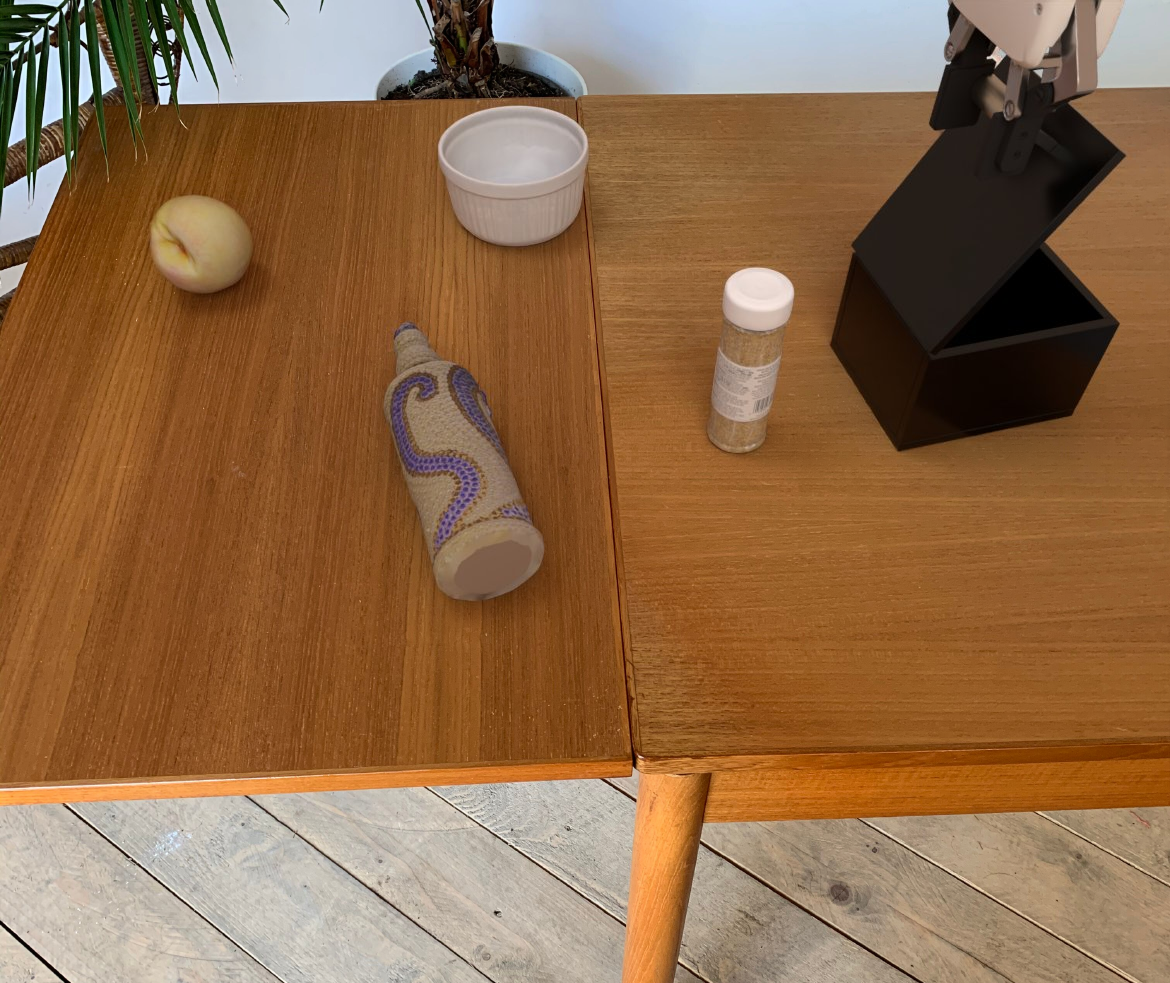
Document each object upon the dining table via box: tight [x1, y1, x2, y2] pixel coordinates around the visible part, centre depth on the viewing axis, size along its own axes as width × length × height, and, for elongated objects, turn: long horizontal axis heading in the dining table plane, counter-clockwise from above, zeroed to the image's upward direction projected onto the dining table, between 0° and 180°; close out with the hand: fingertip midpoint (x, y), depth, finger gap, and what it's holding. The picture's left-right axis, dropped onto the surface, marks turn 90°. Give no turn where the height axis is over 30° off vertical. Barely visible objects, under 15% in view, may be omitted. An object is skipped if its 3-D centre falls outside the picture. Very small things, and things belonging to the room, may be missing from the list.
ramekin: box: [437, 105, 590, 247], centre depth 91 cm, size 13×13×7 cm
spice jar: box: [706, 266, 795, 454], centre depth 71 cm, size 5×5×14 cm
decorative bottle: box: [382, 321, 545, 602], centre depth 72 cm, size 26×8×7 cm, turn 18°
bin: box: [829, 241, 1121, 452], centre depth 76 cm, size 15×13×9 cm
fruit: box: [149, 194, 254, 294], centre depth 84 cm, size 8×8×8 cm
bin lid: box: [850, 54, 1127, 356], centre depth 66 cm, size 16×13×5 cm
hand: (975, 147), depth 63 cm, fingers closed on bin lid, 5 cm apart
